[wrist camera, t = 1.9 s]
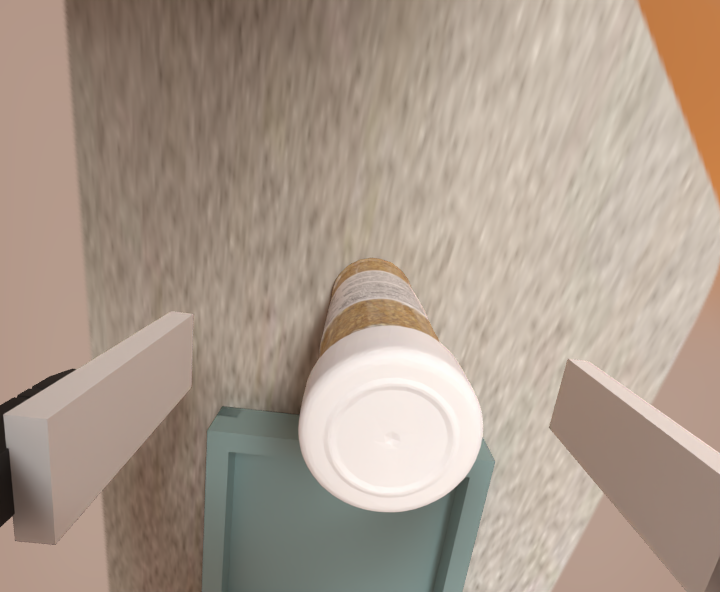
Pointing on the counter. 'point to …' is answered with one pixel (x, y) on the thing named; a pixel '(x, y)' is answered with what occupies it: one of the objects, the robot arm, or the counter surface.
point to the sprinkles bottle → (386, 398)
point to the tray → (322, 521)
